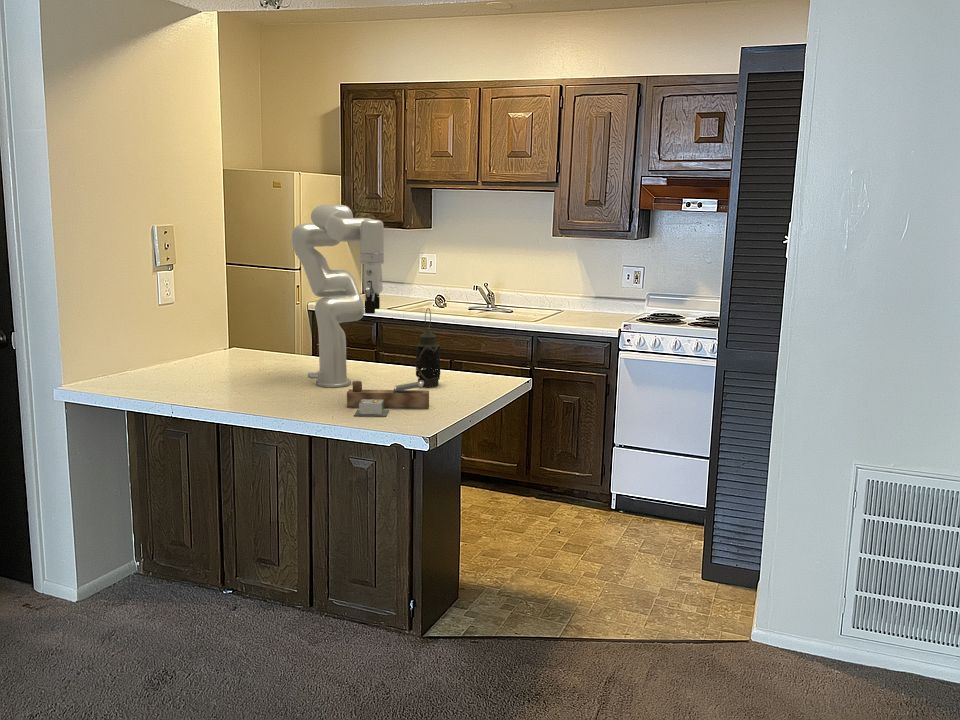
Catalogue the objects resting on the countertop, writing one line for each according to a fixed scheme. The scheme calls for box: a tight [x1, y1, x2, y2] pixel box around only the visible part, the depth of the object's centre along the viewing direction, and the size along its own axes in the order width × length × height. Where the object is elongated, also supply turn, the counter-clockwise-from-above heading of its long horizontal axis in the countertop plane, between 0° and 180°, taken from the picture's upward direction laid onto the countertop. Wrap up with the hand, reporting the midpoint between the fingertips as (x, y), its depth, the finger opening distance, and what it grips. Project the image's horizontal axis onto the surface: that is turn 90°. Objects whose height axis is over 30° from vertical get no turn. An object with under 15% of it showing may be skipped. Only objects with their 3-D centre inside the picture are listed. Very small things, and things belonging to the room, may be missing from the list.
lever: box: [393, 380, 424, 392], centre depth 273 cm, size 2×5×10 cm
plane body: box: [346, 380, 430, 410], centre depth 274 cm, size 26×4×8 cm, turn 89°
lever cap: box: [358, 399, 385, 415], centre depth 265 cm, size 7×5×4 cm
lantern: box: [414, 307, 441, 389], centre depth 303 cm, size 10×9×28 cm
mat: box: [353, 409, 390, 418], centre depth 266 cm, size 10×7×1 cm
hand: (372, 311), depth 278 cm, fingers open, 9 cm apart
